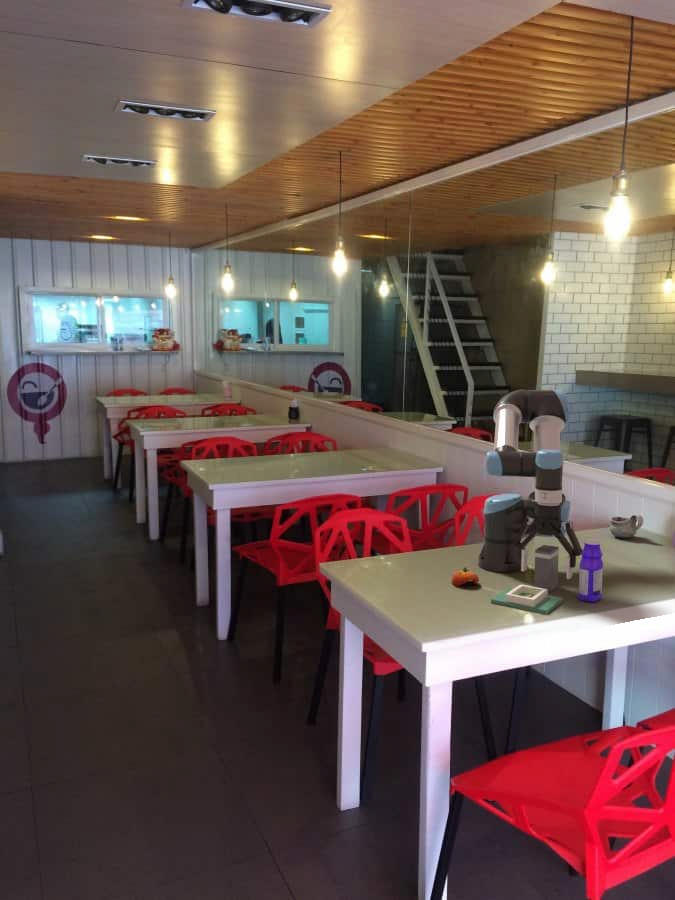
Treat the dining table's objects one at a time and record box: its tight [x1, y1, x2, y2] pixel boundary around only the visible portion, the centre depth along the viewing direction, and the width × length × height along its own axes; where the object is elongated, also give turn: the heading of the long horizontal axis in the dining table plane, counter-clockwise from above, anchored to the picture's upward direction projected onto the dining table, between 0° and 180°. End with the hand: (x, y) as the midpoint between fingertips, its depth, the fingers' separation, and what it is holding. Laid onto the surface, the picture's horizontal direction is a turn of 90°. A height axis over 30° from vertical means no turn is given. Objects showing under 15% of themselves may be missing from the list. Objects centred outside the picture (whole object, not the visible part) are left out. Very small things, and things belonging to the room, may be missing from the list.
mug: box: [609, 513, 644, 539], centre depth 270 cm, size 10×12×10 cm
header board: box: [490, 584, 563, 615], centre depth 202 cm, size 16×12×3 cm
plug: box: [533, 544, 560, 593], centre depth 214 cm, size 5×8×12 cm, turn 144°
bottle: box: [578, 536, 604, 603], centre depth 203 cm, size 7×6×17 cm
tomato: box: [451, 566, 480, 588], centre depth 218 cm, size 8×7×7 cm
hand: (546, 574), depth 214 cm, fingers open, 13 cm apart
